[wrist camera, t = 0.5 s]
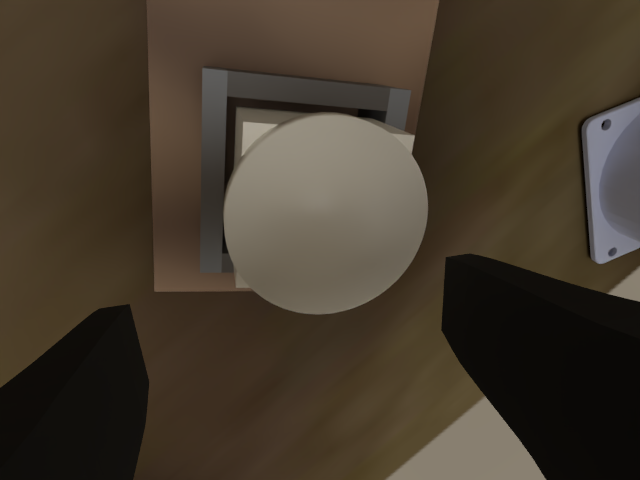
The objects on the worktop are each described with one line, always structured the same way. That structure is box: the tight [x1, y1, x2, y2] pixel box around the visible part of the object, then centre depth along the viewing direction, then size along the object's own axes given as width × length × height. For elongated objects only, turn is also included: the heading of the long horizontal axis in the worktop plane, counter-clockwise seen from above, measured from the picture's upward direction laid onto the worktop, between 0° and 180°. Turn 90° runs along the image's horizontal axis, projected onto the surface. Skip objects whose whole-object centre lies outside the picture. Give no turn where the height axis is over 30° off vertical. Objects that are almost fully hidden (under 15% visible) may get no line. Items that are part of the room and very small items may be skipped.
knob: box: [223, 106, 428, 314], centre depth 13 cm, size 5×5×4 cm
